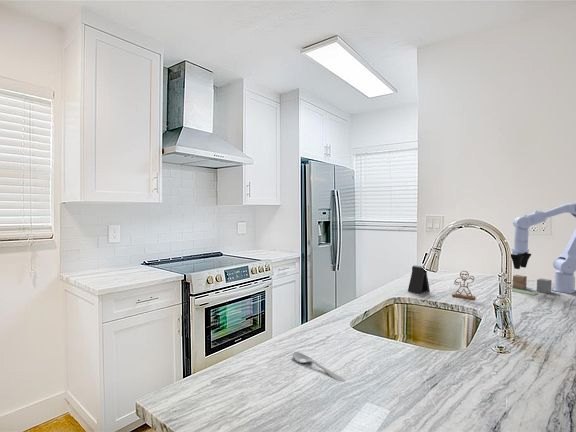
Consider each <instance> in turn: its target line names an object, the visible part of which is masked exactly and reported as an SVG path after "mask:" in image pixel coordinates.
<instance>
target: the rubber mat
mask: <svg viewBox="0 0 576 432" xmlns="http://www.w3.org/2000/svg"><path fill="white" fill-rule="evenodd" d="M511 292H514V293H519V294H524V295H529V296H536V295H539V293H540V292H535V291H530V290H528V291H524V290H519V289H513V288H512V291H511Z"/></svg>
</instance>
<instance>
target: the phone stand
mask: <svg viewBox="0 0 576 432" xmlns="http://www.w3.org/2000/svg"><path fill="white" fill-rule="evenodd" d="M422 267H423V266H421V265H412V268H411V274H410V280H409V284H408V287H407V288H408V289H407V292H409V293H414V294H418V295H421V294H425V293H428V292H431V289H430V285H429V284H430V283H429V279H428V272H427V271H428V270H427V271H425V270H424V269H423V268H422ZM424 292H425V293H424Z"/></svg>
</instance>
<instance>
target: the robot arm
mask: <svg viewBox="0 0 576 432" xmlns="http://www.w3.org/2000/svg"><path fill="white" fill-rule="evenodd" d="M565 213H568V214H570V215H572V216H573V217H574V218H575V219H576V201H571V202H568V203H564V204H561V205H558V206H555V207H553V208H551V209H548V210H546V211H541V210H534V211H533V212H532V213H529V214H523V216H518V217H516V218H515V219H514V220H513V222H512V225H513V226H514V242H513V243H514V244H513V248H511V251H512V253H510V254H511V257H510V258H511V261H512V263H513V268H514V269H515V270H520V269H521V268H527V265H528V263H529V262H528V261H529V259H530V258H531V256H532V253H529V252H530V249H529V228H530V227H532V226H535V225H538V224H541V223H545V222H546V220H547V219H548V218H551V217H555V216H558V215H561V214H565ZM552 265H553V268H554V269H555V271H554V287H553V288H551V292H552V291H554V292H559V293H565V294H570V295H571V294H574V293H576V288H575V287H576V286H575V285H576V277H575V275H574V274H575V272H576V228H575V229H574V231H573V233H572V235H571V237H570V239H569V241H568V243H567V245H566V246H565V249H564V251H563V252H561V253H560V254H559V255H558V257H557V258H556V259H554V261H553V263H552Z"/></svg>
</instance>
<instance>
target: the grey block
mask: <svg viewBox="0 0 576 432" xmlns="http://www.w3.org/2000/svg"><path fill="white" fill-rule="evenodd" d="M551 289H552V280H551V279H547V278H538V279H536V293H544V294H551V293H552V290H551Z"/></svg>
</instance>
